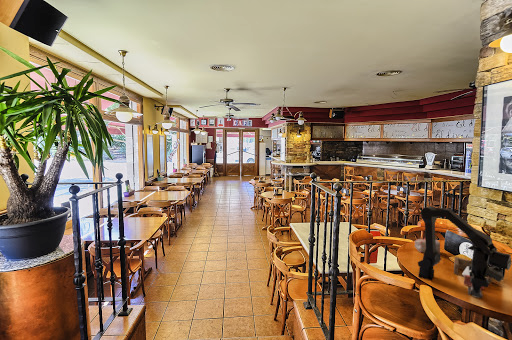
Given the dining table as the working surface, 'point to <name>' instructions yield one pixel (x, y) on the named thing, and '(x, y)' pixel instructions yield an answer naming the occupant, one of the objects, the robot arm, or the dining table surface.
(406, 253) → the dining table surface
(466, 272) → the grey pyramid roof
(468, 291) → the rod bushings
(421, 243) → the food item
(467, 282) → the red block
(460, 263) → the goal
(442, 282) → the dining table surface
